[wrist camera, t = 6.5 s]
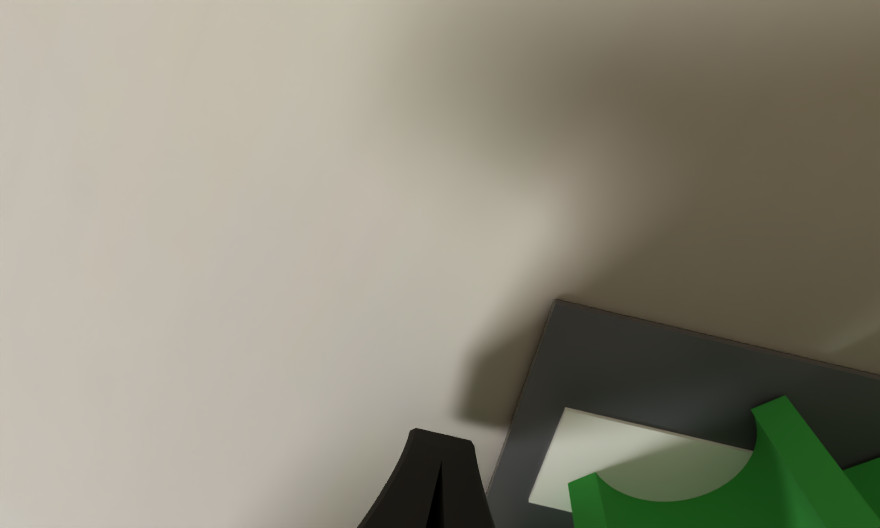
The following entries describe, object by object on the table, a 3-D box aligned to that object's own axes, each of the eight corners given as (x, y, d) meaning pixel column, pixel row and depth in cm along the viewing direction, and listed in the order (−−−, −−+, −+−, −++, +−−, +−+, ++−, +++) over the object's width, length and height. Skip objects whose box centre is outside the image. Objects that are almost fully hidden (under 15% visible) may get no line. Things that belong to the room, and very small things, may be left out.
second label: (467, 548, 15) (466, 558, 15) (554, 299, 12) (555, 306, 11) (786, 622, 15) (791, 633, 15) (966, 395, 12) (978, 405, 11)
